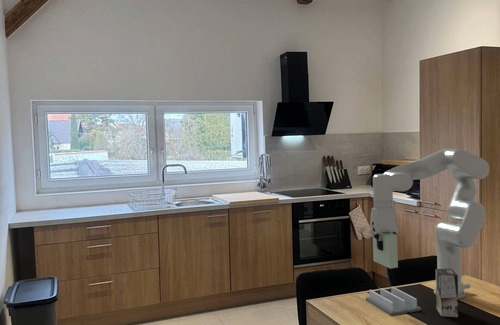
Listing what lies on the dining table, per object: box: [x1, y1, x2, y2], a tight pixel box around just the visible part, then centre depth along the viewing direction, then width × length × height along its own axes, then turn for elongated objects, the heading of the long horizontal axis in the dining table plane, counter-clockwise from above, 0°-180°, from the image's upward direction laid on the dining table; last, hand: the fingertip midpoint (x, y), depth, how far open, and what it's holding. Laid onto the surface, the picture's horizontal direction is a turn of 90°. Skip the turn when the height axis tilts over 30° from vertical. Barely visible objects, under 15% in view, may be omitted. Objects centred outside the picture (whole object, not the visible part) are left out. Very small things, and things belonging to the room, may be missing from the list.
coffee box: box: [435, 268, 459, 318], centre depth 172 cm, size 9×6×16 cm
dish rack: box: [365, 286, 422, 316], centre depth 182 cm, size 14×18×4 cm
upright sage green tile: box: [372, 232, 399, 269], centre depth 180 cm, size 4×12×13 cm, turn 16°
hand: (384, 248), depth 180 cm, fingers closed on upright sage green tile, 3 cm apart
